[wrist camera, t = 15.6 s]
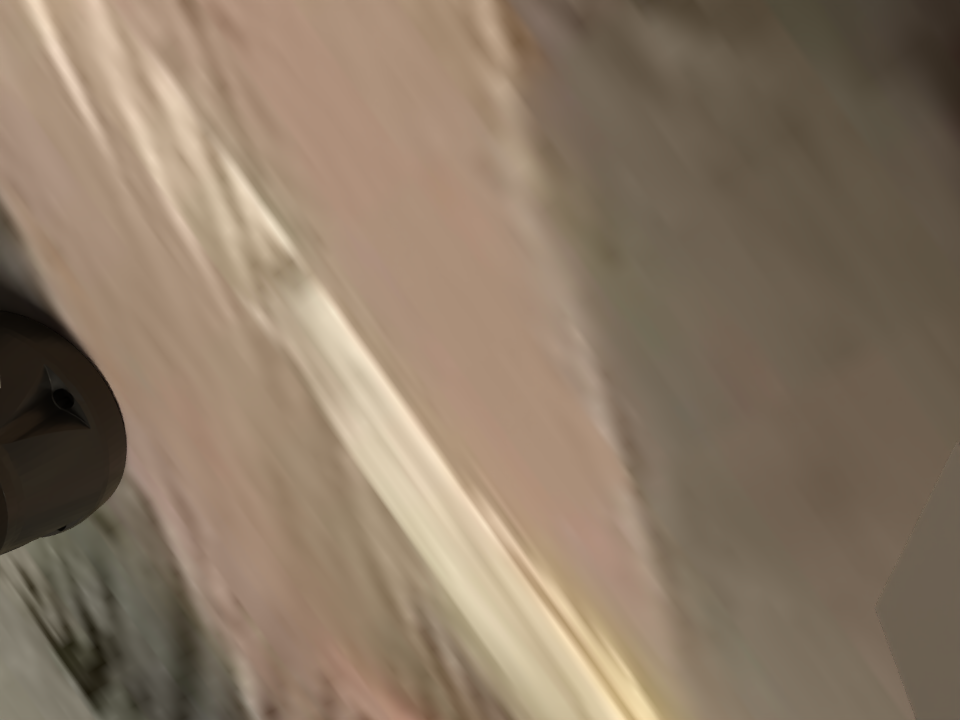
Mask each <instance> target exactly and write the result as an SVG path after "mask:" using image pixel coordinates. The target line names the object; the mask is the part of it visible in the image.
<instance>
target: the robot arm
mask: <svg viewBox="0 0 960 720" xmlns="http://www.w3.org/2000/svg"><path fill="white" fill-rule="evenodd" d="M125 462H126V437H125V431H124V426H123V422H122V418H121V415H120V412H119V410H118V407H117V405H116V402H115V400H114V398H113V396H112V394H111V392H110V390H109V389H108V387H107V385H106V384H105V382H104V381H103V379H102V378H101V376H100V375H99V373H98V372H97V371H96V369H95V368H94V367H93V366H92V364H91V363H90V362H89V361H88V360H87V359H86V358H85V357H84V356H83V355H82V354H81V353H80V352H79V351H78V350H77V349H76V348H75V347H74V346H73V345H72V344H70V343H69V342H68V341H67V340H65V339H64V338H63V337H61V336H60V335H58V334H57V333H55V332H54V331H52V330H51V329H49V328H47V327H45V326H44V325H42V324H40V323H38V322H36V321H33V320H31V319H29V318H26V317H23V316H20V315H17V314H13V313H9V312H4V311H0V555H1V554H4V553H7V552H9V551H12V550H14V549H17V548H19V547H21V546H23V545H25V544H27V543H29V542H31V541H33V540H36V539H38V538H40V537H47V536H52V535H56V534H58V533H61V532H64V531H67V530H69V529H71V528H73V527H74V526H76V525H78V524H79V523H81V522H83V521H84V520H85V519H87V518H88V517H89V516H90V515H91V514H92V513H93V512H95V511H96V510H97V509H98V508H99V507H100V506H102V505H103V504H104V503H105V502H106V501H107V500H108V499H109V498H110V497H111V496H112V494H113V493H114V492H115V490H116V488H117V487H118V485H119V483H120V481H121V478H122V475H123V472H124V468H125ZM875 610H876V613H877V616H878V618H879V621H880V624H881V626H882V629H883V632H884V634H885V637H886V640H887V642H888V645H889V648H890V651H891V653H892V656H893V659H894V661H895V664H896V667H897V669H898V672H899V675H900V678H901V680H902V683H903V686H904V688H905V691H906V694H907V696H908V699H909V702H910V705H911V707H912V710H913V713H914V715H915V718H916V720H960V442H956V444H955V446H954V448H953V450H952V452H951V454H950V456H949V458H948V460H947V462H946V464H945V466H944V468H943V470H942V472H941V474H940V476H939V478H938V480H937V482H936V485H935V487H934V489H933V491H932V493H931V495H930V497H929V499H928V501H927V503H926V505H925V507H924V509H923V511H922V513H921V515H920V517H919V519H918V521H917V523H916V525H915V527H914V529H913V531H912V533H911V535H910V537H909V539H908V541H907V543H906V545H905V547H904V549H903V551H902V553H901V555H900V557H899V559H898V561H897V563H896V565H895V567H894V569H893V571H892V573H891V575H890V577H889V579H888V581H887V583H886V585H885V587H884V589H883V591H882V593H881V595H880V597H879V599H878V601H877V603H876V605H875Z"/></svg>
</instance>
